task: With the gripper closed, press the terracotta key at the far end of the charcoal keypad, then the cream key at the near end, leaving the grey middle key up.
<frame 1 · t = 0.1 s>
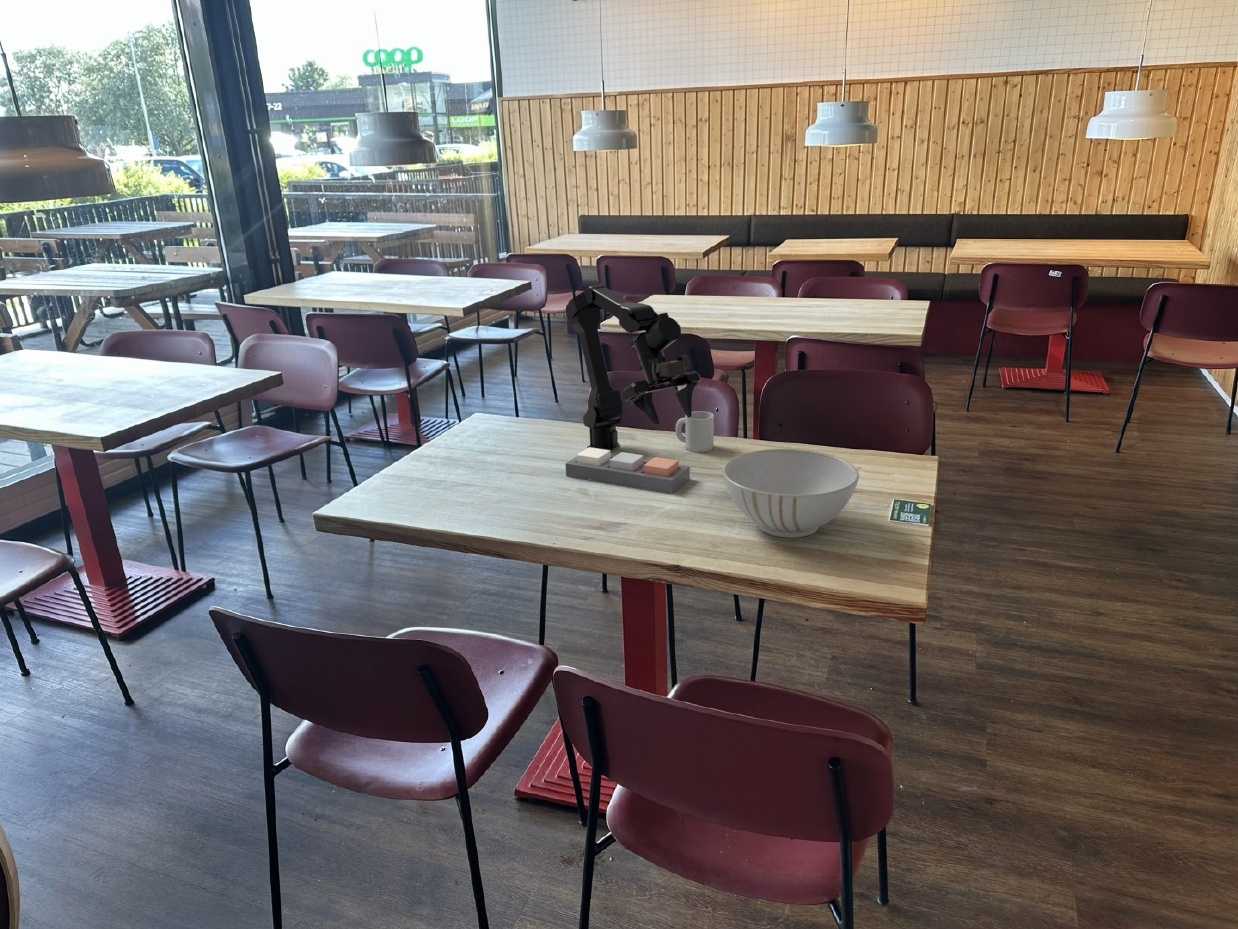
hand: (673, 420, 199), 15 cm above the table, tool tilted 30°, fingers open, 9 cm apart
cream key: (593, 457, 211), point 4 cm above the table, slide at 0.0 cm
grey key: (626, 462, 207), point 4 cm above the table, slide at 0.0 cm
terracotta key: (661, 467, 203), point 4 cm above the table, slide at 0.0 cm
cup: (694, 448, 227), on the table
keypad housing: (627, 477, 208), on the table
decorative bowl: (787, 526, 180), on the table
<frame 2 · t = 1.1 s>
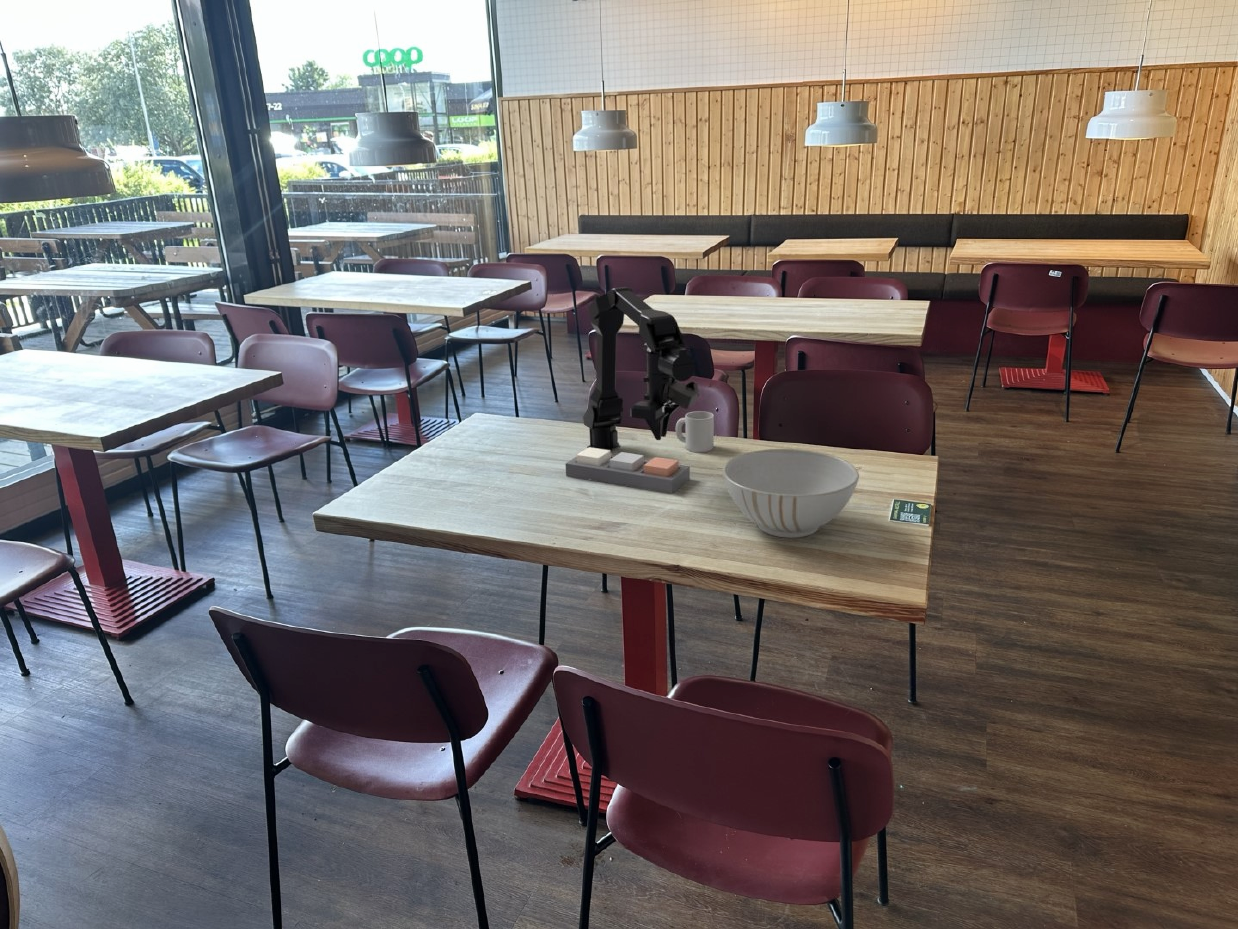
hand: (660, 438, 200), 11 cm above the table, tool pointing down, fingers closed
nothing on the table moved.
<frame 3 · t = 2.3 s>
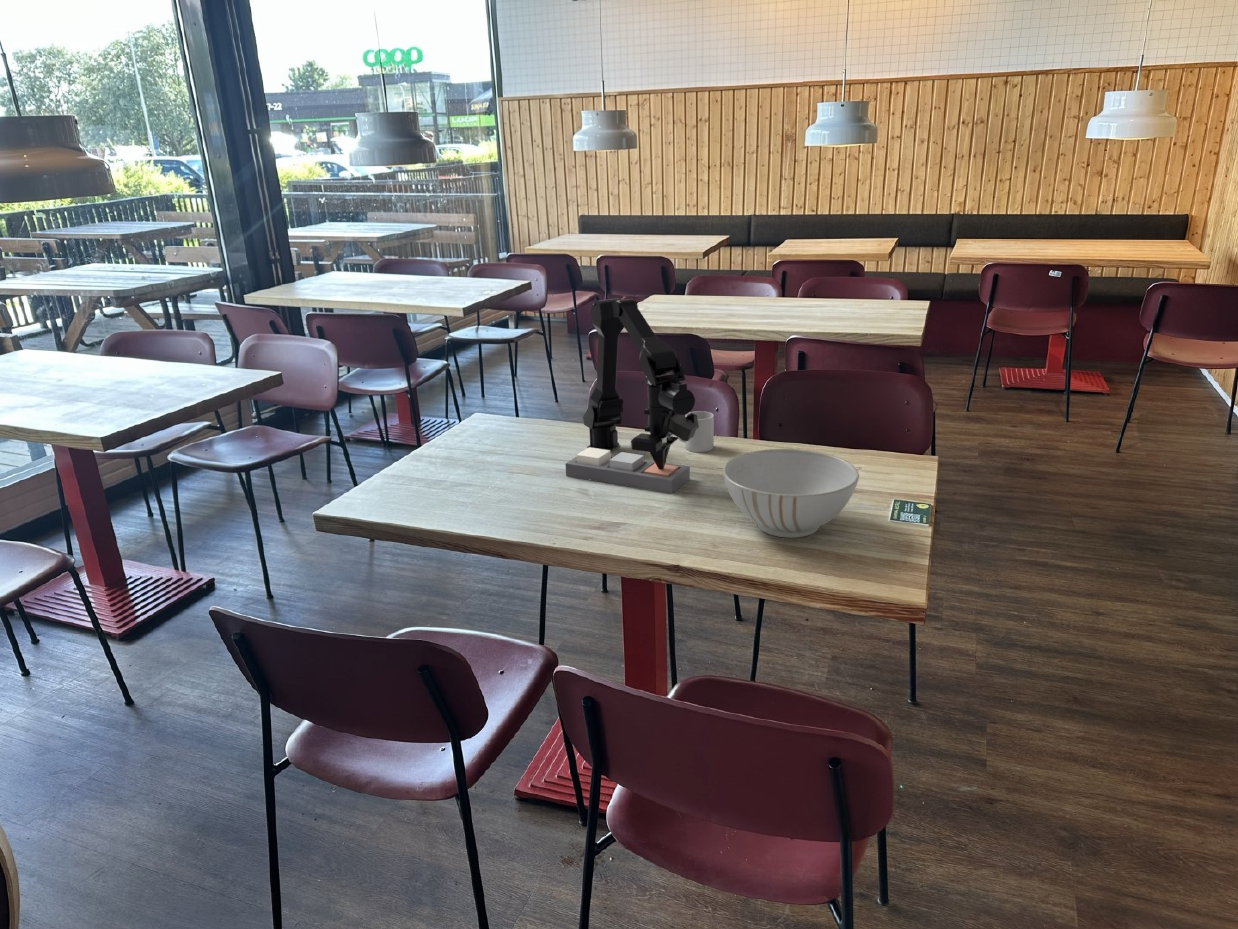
hand: (661, 468, 203), 3 cm above the table, tool pointing down, fingers closed, pressing on terracotta key
terracotta key: (661, 473, 203), point 2 cm above the table, slide at 1.5 cm, touching gripper
everything else where it was.
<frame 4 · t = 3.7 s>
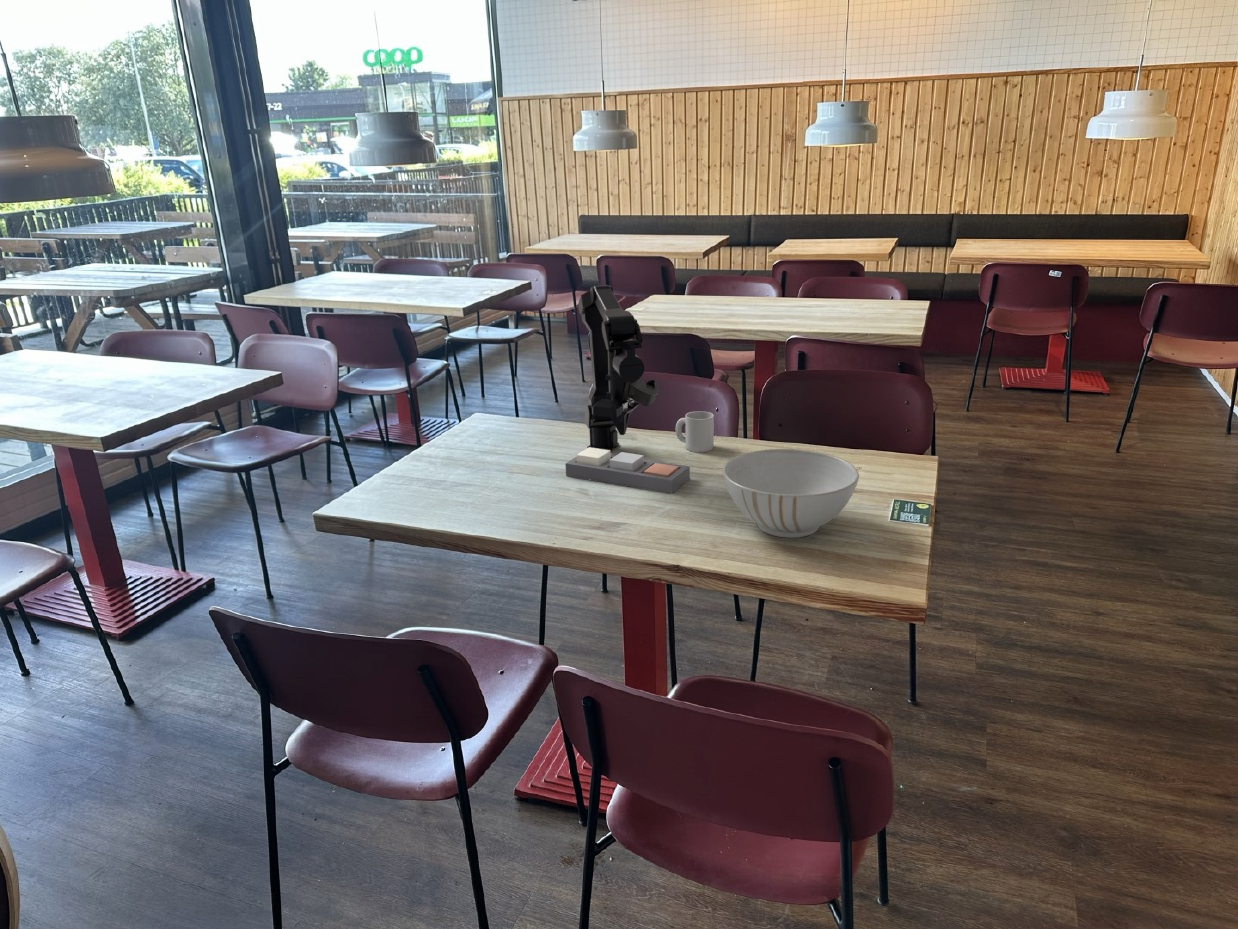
hand: (622, 434, 205), 10 cm above the table, tool pointing down, fingers closed
terracotta key: (661, 473, 203), point 2 cm above the table, slide at 1.5 cm
everything else where it was.
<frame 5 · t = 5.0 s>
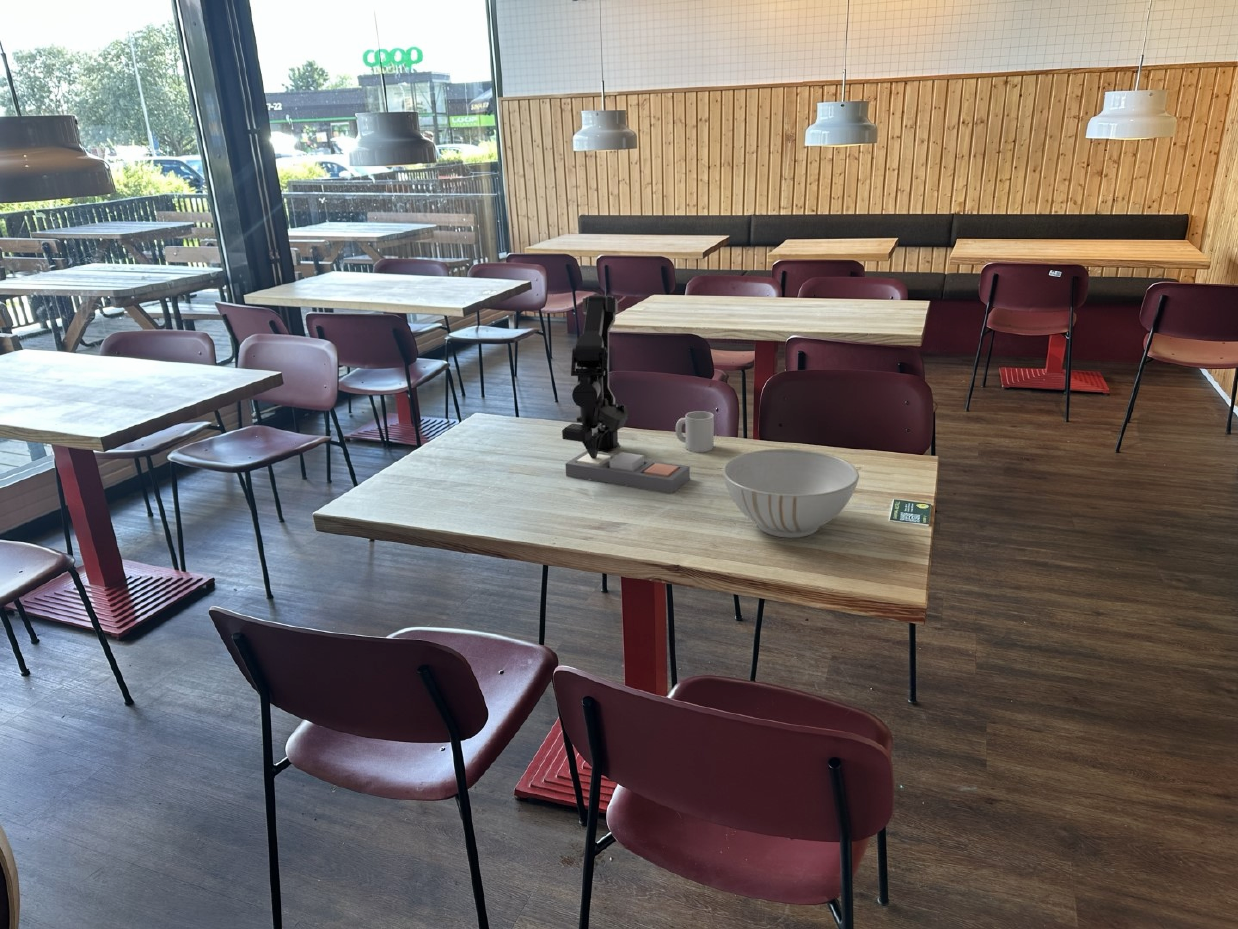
hand: (593, 458, 211), 4 cm above the table, tool pointing down, fingers closed, pressing on cream key
cream key: (594, 462, 211), point 2 cm above the table, slide at 1.4 cm, touching gripper
everything else where it was.
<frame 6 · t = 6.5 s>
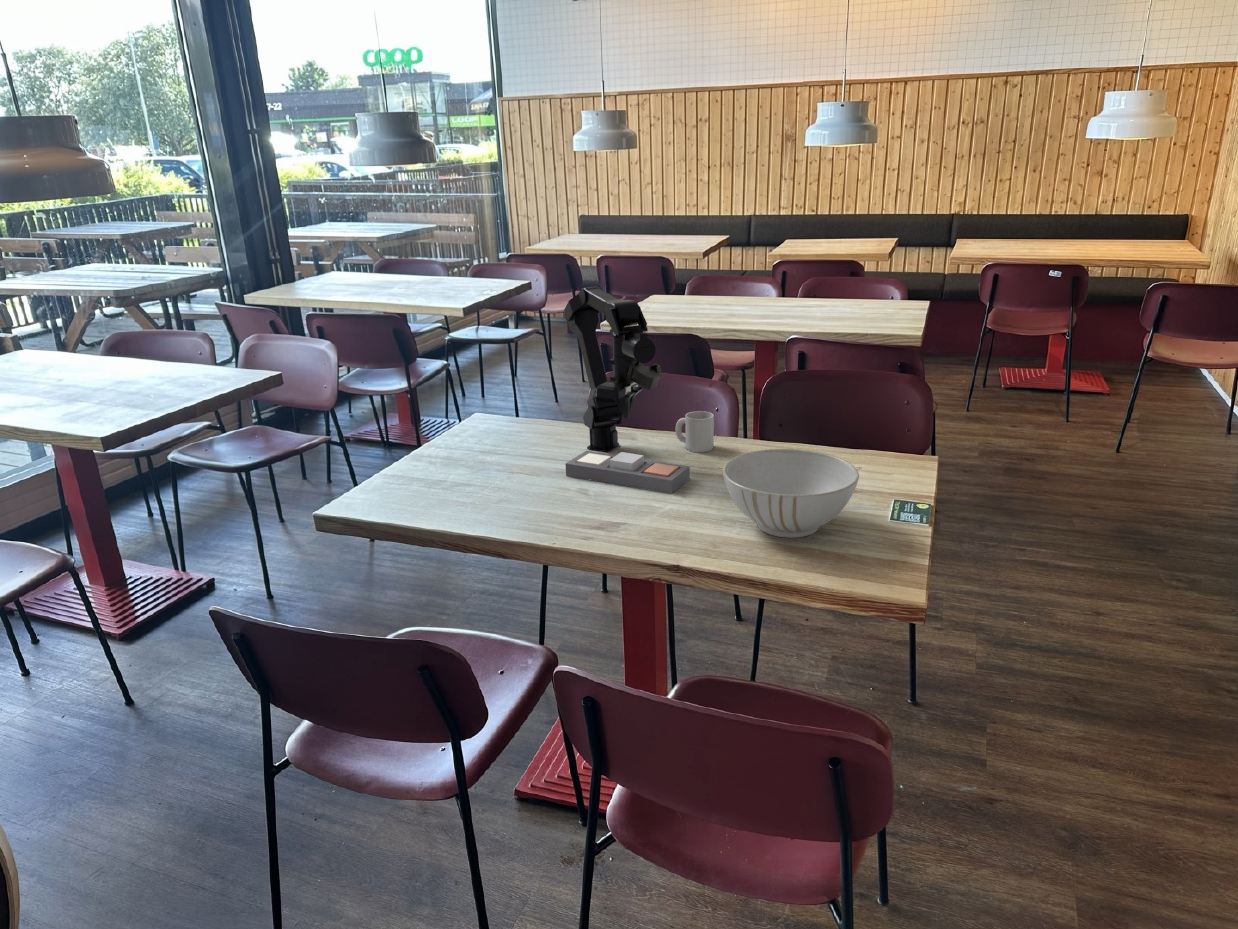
hand: (626, 417, 213), 12 cm above the table, tool pointing down, fingers closed
cream key: (594, 463, 211), point 2 cm above the table, slide at 1.5 cm
everything else where it was.
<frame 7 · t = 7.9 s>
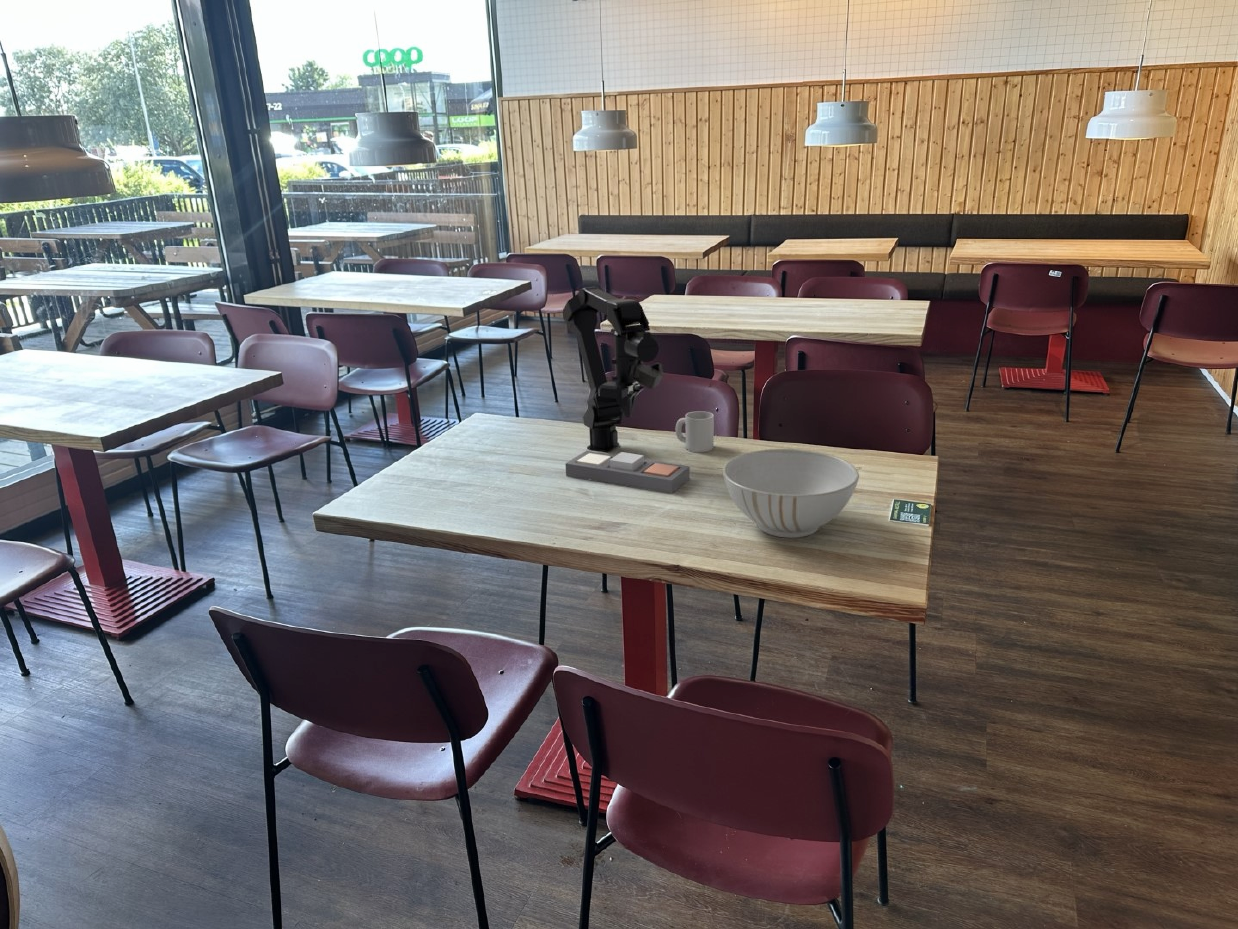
hand: (628, 416, 213), 12 cm above the table, tool pointing down, fingers closed
nothing on the table moved.
at the end: terracotta key slide at 1.5 cm; cream key slide at 1.5 cm; grey key slide at 0.0 cm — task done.
